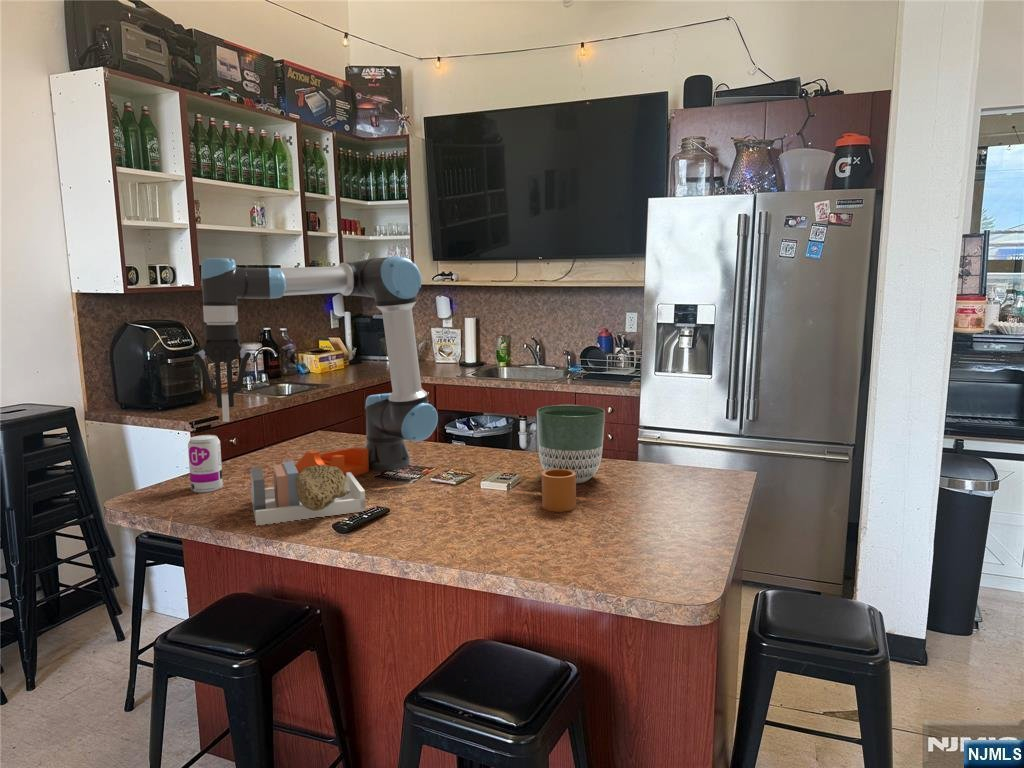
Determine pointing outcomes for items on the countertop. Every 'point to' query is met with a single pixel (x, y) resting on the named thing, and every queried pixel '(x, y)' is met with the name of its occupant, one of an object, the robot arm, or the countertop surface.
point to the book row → (285, 484)
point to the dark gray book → (258, 488)
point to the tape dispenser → (338, 460)
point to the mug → (558, 490)
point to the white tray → (290, 513)
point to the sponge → (320, 486)
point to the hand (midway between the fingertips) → (226, 420)
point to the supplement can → (205, 463)
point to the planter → (571, 438)
